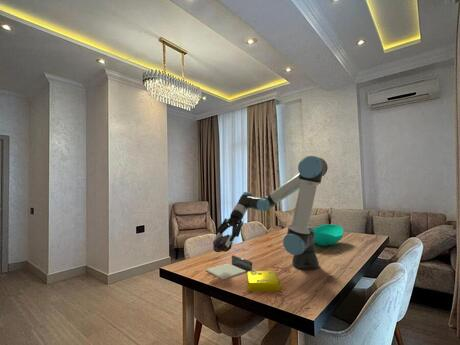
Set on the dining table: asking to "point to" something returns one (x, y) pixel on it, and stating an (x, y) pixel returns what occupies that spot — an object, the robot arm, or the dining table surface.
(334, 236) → the table top decor
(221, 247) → the rock
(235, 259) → the metal rail
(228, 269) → the felt mat
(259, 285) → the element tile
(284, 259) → the dining table surface
